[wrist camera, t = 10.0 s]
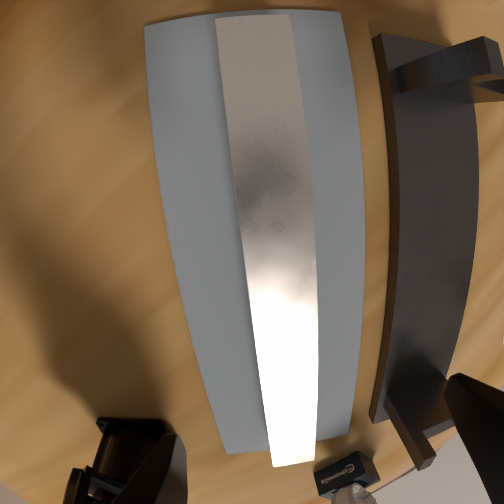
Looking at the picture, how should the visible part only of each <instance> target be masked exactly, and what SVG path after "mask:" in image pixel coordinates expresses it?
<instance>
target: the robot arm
mask: <svg viewBox="0 0 504 504" xmlns="http://www.w3.org/2000/svg"><path fill="white" fill-rule="evenodd" d="M444 399H445V402H446V404H447V407H448V409H449V411H450V414H451V416H452V419H453V421H454V424H455V426H456V429H457V431H458V433H459V435H460V437H461V439H462V441H463V443H464V445H465V447H466V449H467V451H468V453H469V455H470V457H471V459H472V461H473V463H474V465H475V467H476V469H477V471H478V473H479V475H480V478H481V480H482V482H483V484H484V487H485V489H486V491H487V493H488V496H489V498H490V500H491V503H492V504H504V392H503V391H501V390H499V389H496V388H494V387H492V386H489V385H487V384H485V383H482V382H480V381H478V380H476V379H473V378H471V377H469V376H467V375H464V374H462V373H457V374H454V375H452V376H450V378H449V379H448V382H447V385H446V388H445V390H444ZM96 425H97V426H98V428H99V429H100V431H101V432H102V434H103V435H102V438H101V441H100V444H99V447H98V450H97V453H96V457H95V460H94V463H93V466H92V468H91V467H89V466H87V465H86V467H85V468H84V469H77V468H73V469H72V471H71V474H70V477H69V480H68V483H67V486H66V490H65V494H64V499H63V504H187V497H188V487H187V463H186V449H185V447H184V445H183V443H182V441H181V439H180V437H179V435H178V434H176V433H170V432H169V430H168V428H167V426H166V424H165V423H164V422H163V421H161V420H131V419H110V418H98V419H97V421H96ZM88 493H89V494H91V495H92V497H91V496H89V495H88Z"/></svg>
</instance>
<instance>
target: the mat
mask: <svg viewBox="0 0 504 504" xmlns="http://www.w3.org/2000/svg"><path fill="white" fill-rule="evenodd" d="M272 14H289V18H290V23H291V29H292V34H293V40H294V46H295V52H296V59H297V65H298V72H299V79H300V86H301V93H302V101H303V109H304V117H305V125H306V134H307V144H308V153H309V164H310V175H311V187H312V199H313V213H314V229H315V247H316V269H317V302H318V387H317V418H316V439H315V442H317V441H321V440H326V439H330V438H334V437H338V436H342V435H346V434H348V431H349V425H350V420H351V414H352V407H353V401H354V394H355V387H356V379H357V371H358V362H359V353H360V342H361V331H362V317H363V301H364V278H365V203H364V180H363V164H362V151H361V139H360V129H359V120H358V111H357V103H356V96H355V88H354V82H353V75H352V69H351V63H350V57H349V52H348V47H347V41H346V36H345V32H344V27H343V22H342V18H341V14H340V12H333V11H320V10H297V9H269V10H247V11H233V12H223V13H214V14H206V15H199V16H193V17H187V18H181V19H176V20H170V21H166V22H161V23H156V24H152V25H148V26H144V37H145V57H146V71H147V84H148V96H149V106H150V116H151V125H152V133H153V141H154V149H155V157H156V164H157V171H158V178H159V184H160V190H161V197H162V203H163V209H164V214H165V220H166V225H167V231H168V236H169V241H170V247H171V252H172V257H173V261H174V266H175V271H176V276H177V280H178V285H179V289H180V294H181V298H182V302H183V306H184V311H185V315H186V319H187V323H188V327H189V331H190V335H191V339H192V343H193V346H194V350H195V354H196V357H197V361H198V365H199V368H200V372H201V375H202V379H203V382H204V386H205V389H206V392H207V396H208V399H209V402H210V406H211V409H212V412H213V415H214V418H215V421H216V424H217V427H218V430H219V433H220V436H221V439H222V442H223V445H224V448H225V451H226V454H237V453H248V452H256V451H264V450H270V444H269V437H268V430H267V423H266V416H265V410H264V403H263V396H262V388H261V381H260V374H259V367H258V360H257V353H256V346H255V338H254V331H253V324H252V316H251V309H250V302H249V294H248V287H247V279H246V272H245V264H244V256H243V249H242V241H241V234H240V226H239V218H238V210H237V202H236V195H235V187H234V179H233V171H232V163H231V155H230V146H229V138H228V130H227V122H226V114H225V105H224V97H223V88H222V80H221V71H220V63H219V54H218V45H217V35H216V24H215V19H216V18H225V17H235V16H249V15H272Z"/></svg>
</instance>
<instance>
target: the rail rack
mask: <svg viewBox="0 0 504 504" xmlns="http://www.w3.org/2000/svg"><path fill="white" fill-rule="evenodd" d="M372 42H373V47H374V52H375V57H376V62H377V68H378V74H379V80H380V86H381V93H382V100H383V108H384V117H385V126H386V137H387V149H388V164H389V186H390V248H389V270H388V286H387V298H386V309H385V319H384V327H383V335H382V343H381V350H380V357H379V363H378V369H377V375H376V381H375V386H374V392H373V397H372V402H371V406H370V411H369V417H370V419H371V421H372V423H373V424H375V423H379V422H382V421H385V420H388V419H390V420H391V422H392V423H393V425H394V427H395V429H396V431H397V433H398V434H399V436H400V438H401V440H402V442H403V444H404V446H405V447H406V449H407V451H408V453H409V455H410V457H411V459H412V461H413V463H414V464H415V466H416V468H417V470H418V471H420V470H422V469H425V468H427V467H429V466H430V465H431V463H432V462H433V460H434V459H435V457H436V453H435V451H434V450H433V448H432V446H431V445H430V443H429V441H428V440H427V439H428V438H430V437H432V436H435V435H437V434H439V433H441V432H443V431H445V430H447V429H449V428H451V427H453V426H455V424H454V421H453V419H452V416H451V414H450V411H449V409H448V407H447V404H446V402H445V399H444V390H445V388H446V385H447V382H448V380H447V379H446V375H447V372H448V369H449V366H450V363H451V360H452V356H453V353H454V349H455V346H456V342H457V339H458V335H459V331H460V327H461V323H462V319H463V315H464V310H465V305H466V301H467V296H468V290H469V285H470V279H471V273H472V266H473V259H474V251H475V242H476V232H477V219H478V199H479V159H478V139H477V126H476V116H475V108H474V103H482V102H497V101H504V66H503V61H502V57H501V53H500V49H499V45H498V42H495V41H493V40H491V39H489V38H487V37H484V36H482V37H478V38H475V39H472V40H469V41H466V42H463V43H460V44H457V45H454V46H451V47H448V48H447V47H443V46H440V45H436V44H432V43H428V42H424V41H420V40H415V39H411V38H406V37H401V36H395V35H390V34H384V33H380V34H378V35H377V36H375V37H374V38H373V39H372Z"/></svg>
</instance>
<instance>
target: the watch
mask: <svg viewBox="0 0 504 504" xmlns="http://www.w3.org/2000/svg"><path fill="white" fill-rule="evenodd" d="M314 478H315V482H316V486H317V489H318V493H319V496H321V497H324V498H327V499H330V500H331V504H377V503H376V500H375V498H373V496H372V495H371V493H370V492H367V491H366V490H365V489H366V488H368V487H370V486H371V485H373V484H375V483H377V482H379V481H381V480H380V477H379V475H378V473H377V470H376V468H375V466H374V463H373V461H372V460H371V459H369V458H368V457H366V456H364V455H363V454H361V453H360V452H358V451H356V452H354V453H353V454H351V455H349V456H347V457H345V458H344V459H342V460H340V461H338V462H336V463H334V464H332V465H330V466H328V467H327V468H325V469H323V470H321V471H318V472H316V473H314Z"/></svg>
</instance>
